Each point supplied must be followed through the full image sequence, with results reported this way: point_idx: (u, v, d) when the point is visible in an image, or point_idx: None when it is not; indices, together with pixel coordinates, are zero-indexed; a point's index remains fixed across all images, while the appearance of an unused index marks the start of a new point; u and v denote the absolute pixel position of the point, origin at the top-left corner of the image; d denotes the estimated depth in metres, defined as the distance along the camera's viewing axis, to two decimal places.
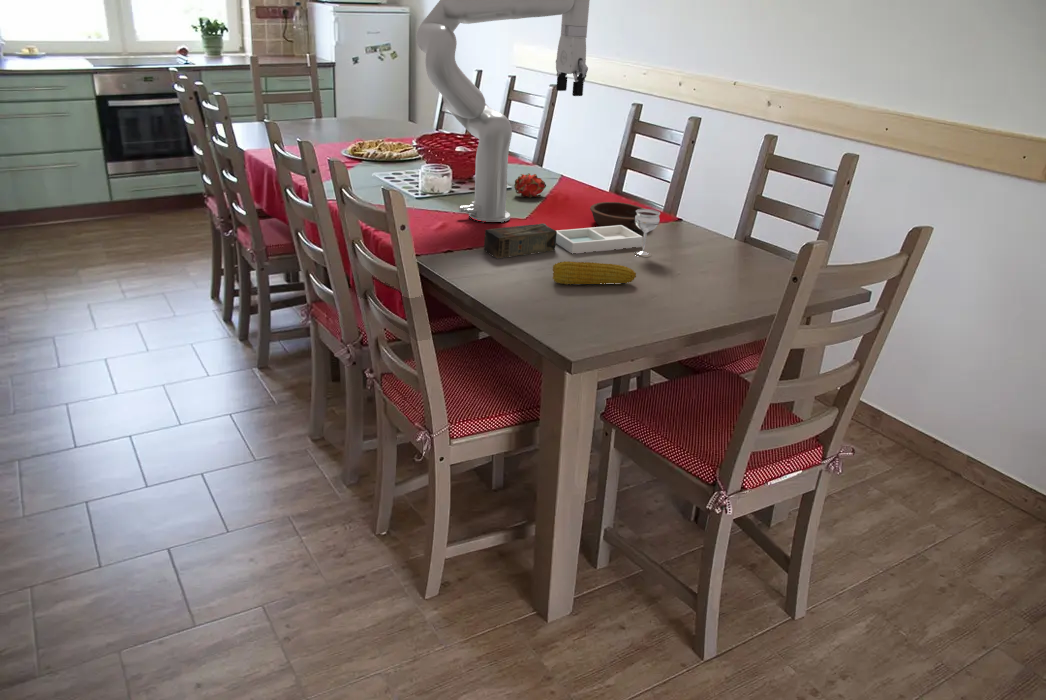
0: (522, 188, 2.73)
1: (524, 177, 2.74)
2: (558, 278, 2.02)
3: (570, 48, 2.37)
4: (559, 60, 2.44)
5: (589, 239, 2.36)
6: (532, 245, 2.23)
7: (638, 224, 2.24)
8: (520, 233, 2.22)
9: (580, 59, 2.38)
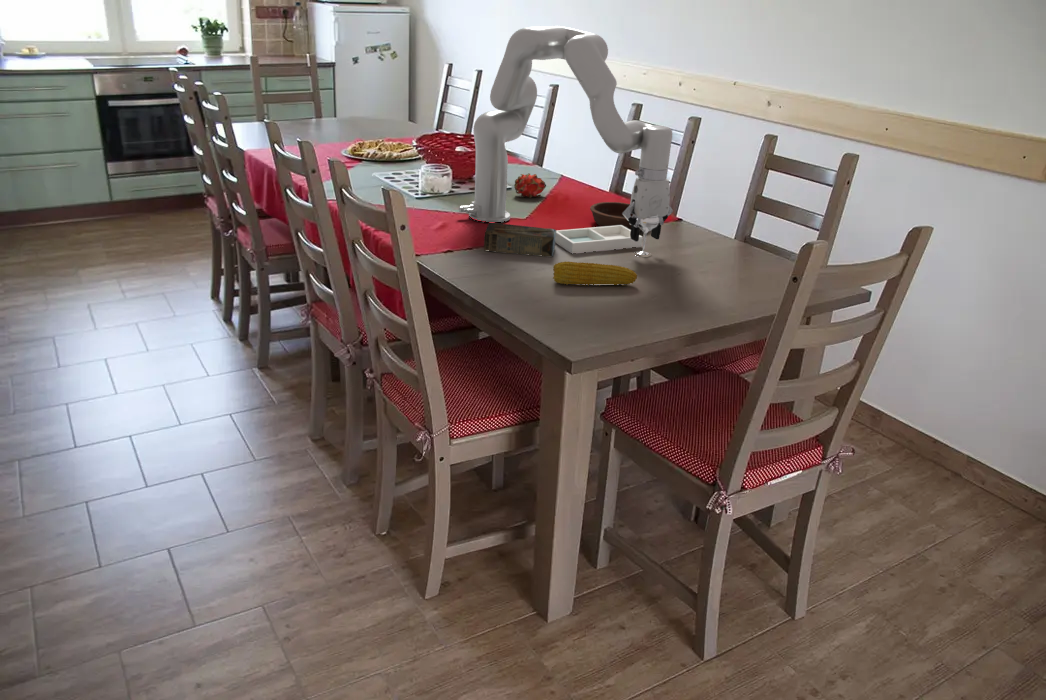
0: (522, 188, 2.73)
1: (524, 177, 2.74)
2: (558, 278, 2.02)
3: (667, 190, 2.21)
4: (646, 207, 2.20)
5: (589, 239, 2.36)
6: (524, 246, 2.22)
7: None
8: (514, 231, 2.23)
9: None
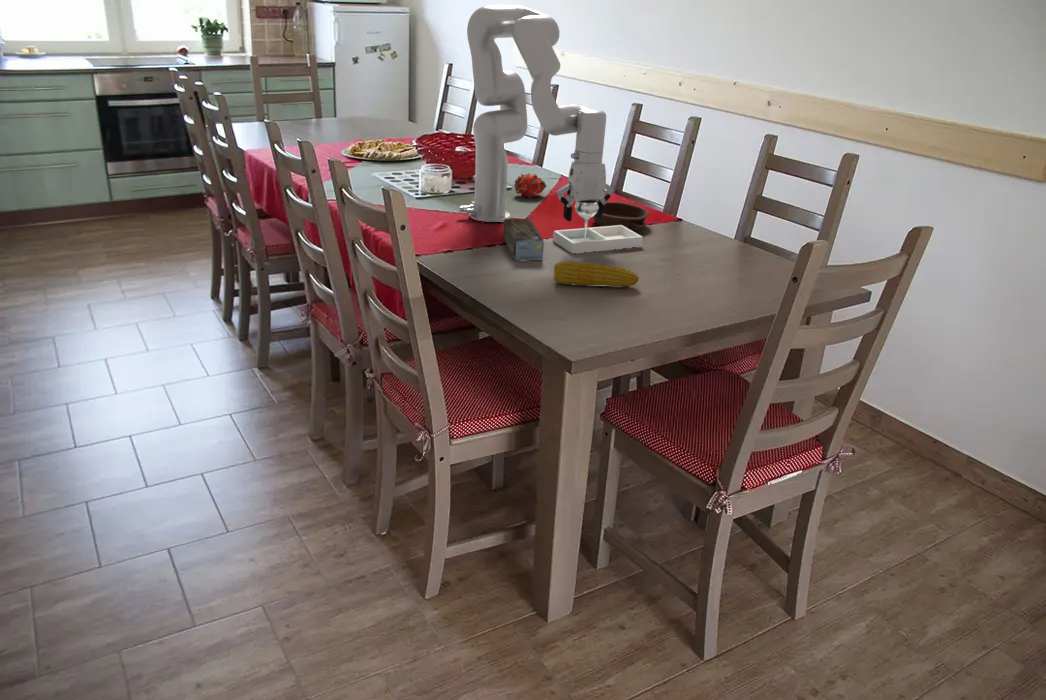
0: (522, 188, 2.73)
1: (524, 177, 2.74)
2: (557, 278, 2.02)
3: (603, 173, 2.24)
4: (582, 189, 2.23)
5: None
6: (509, 242, 2.25)
7: (578, 212, 2.28)
8: (514, 227, 2.26)
9: None
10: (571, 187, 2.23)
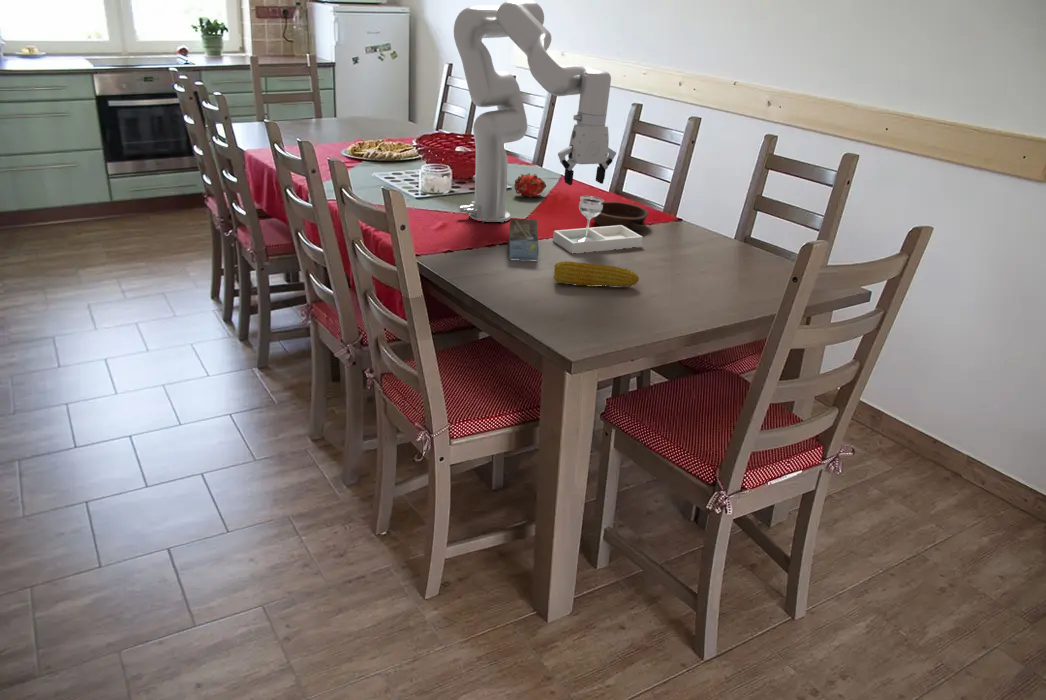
0: (522, 188, 2.73)
1: (524, 177, 2.74)
2: (557, 277, 2.02)
3: (605, 137, 2.20)
4: (584, 153, 2.19)
5: None
6: None
7: (582, 210, 2.28)
8: (515, 227, 2.26)
9: None
10: (573, 150, 2.19)
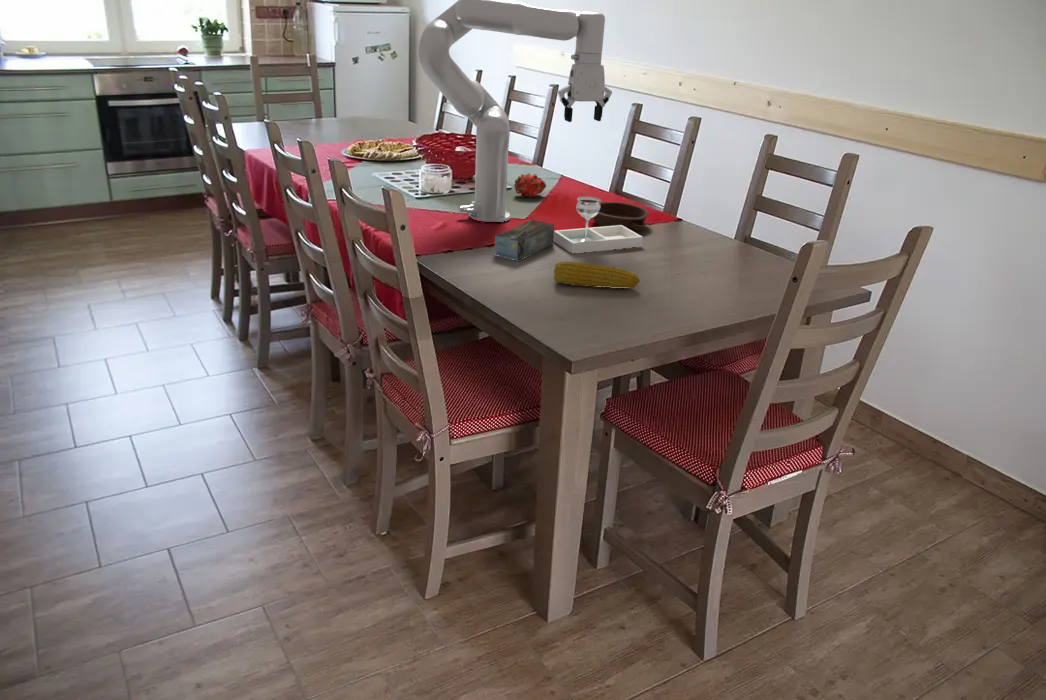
0: (522, 188, 2.73)
1: (524, 177, 2.74)
2: (557, 277, 2.02)
3: (601, 75, 2.36)
4: (582, 90, 2.35)
5: None
6: None
7: (579, 211, 2.28)
8: (521, 226, 2.27)
9: None
10: (571, 88, 2.35)
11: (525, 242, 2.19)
